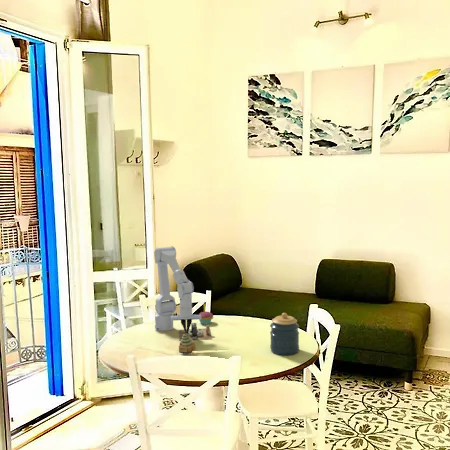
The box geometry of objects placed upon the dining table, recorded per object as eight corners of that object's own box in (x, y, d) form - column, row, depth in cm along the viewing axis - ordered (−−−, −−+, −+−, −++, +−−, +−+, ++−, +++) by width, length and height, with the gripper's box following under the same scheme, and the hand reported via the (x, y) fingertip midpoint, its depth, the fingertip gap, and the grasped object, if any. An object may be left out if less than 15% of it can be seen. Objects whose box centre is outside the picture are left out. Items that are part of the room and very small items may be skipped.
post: (191, 335, 241) (191, 324, 240) (191, 333, 243) (191, 323, 243) (196, 335, 241) (196, 324, 241) (196, 333, 244) (196, 322, 243)
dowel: (206, 335, 240) (206, 326, 240) (206, 334, 242) (206, 325, 242) (209, 335, 241) (209, 326, 240) (209, 334, 242) (209, 325, 242)
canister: (280, 344, 229) (280, 307, 227) (304, 349, 220) (304, 312, 219) (264, 351, 219) (264, 313, 217) (289, 358, 210) (289, 318, 209)
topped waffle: (185, 347, 226) (184, 327, 225) (197, 349, 224) (196, 328, 223) (177, 353, 218) (176, 332, 218) (189, 355, 216) (189, 333, 215)
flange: (185, 331, 246) (185, 321, 245) (201, 331, 247) (201, 320, 246) (186, 339, 234) (186, 328, 233) (203, 338, 234) (202, 327, 234)
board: (179, 343, 233) (179, 341, 233) (179, 331, 250) (178, 329, 250) (212, 341, 234) (212, 339, 234) (209, 330, 252) (209, 328, 252)
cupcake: (195, 323, 264) (195, 302, 263) (209, 321, 267) (209, 300, 266) (201, 327, 256) (201, 305, 255) (216, 325, 260) (215, 303, 259)
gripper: (170, 309, 229) (171, 337, 230) (201, 308, 230) (201, 336, 231) (170, 306, 236) (171, 333, 237) (200, 304, 237) (201, 331, 238)
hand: (186, 334), depth 235 cm, fingers closed
